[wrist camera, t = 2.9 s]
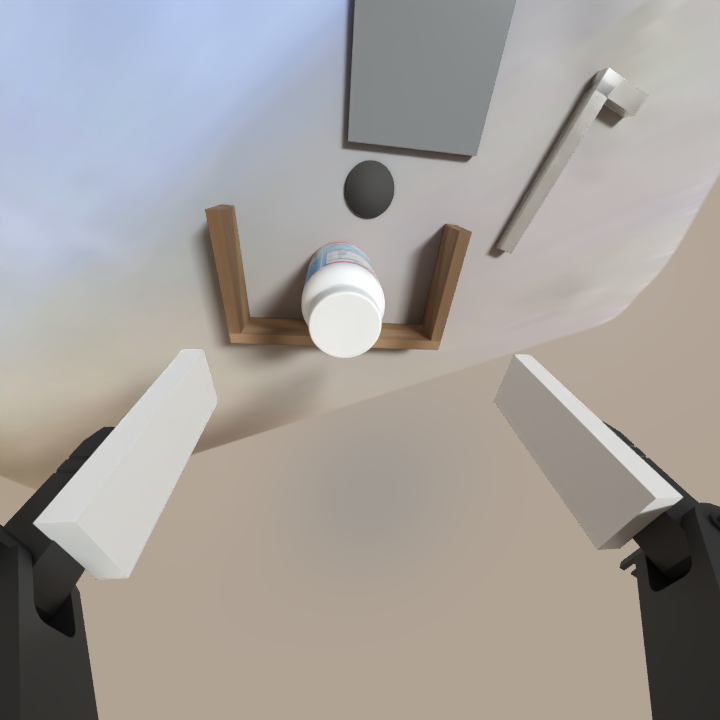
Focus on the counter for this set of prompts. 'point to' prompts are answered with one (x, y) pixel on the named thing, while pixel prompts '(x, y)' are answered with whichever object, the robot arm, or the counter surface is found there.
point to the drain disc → (369, 189)
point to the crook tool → (572, 144)
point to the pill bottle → (342, 300)
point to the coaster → (425, 71)
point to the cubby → (298, 330)
